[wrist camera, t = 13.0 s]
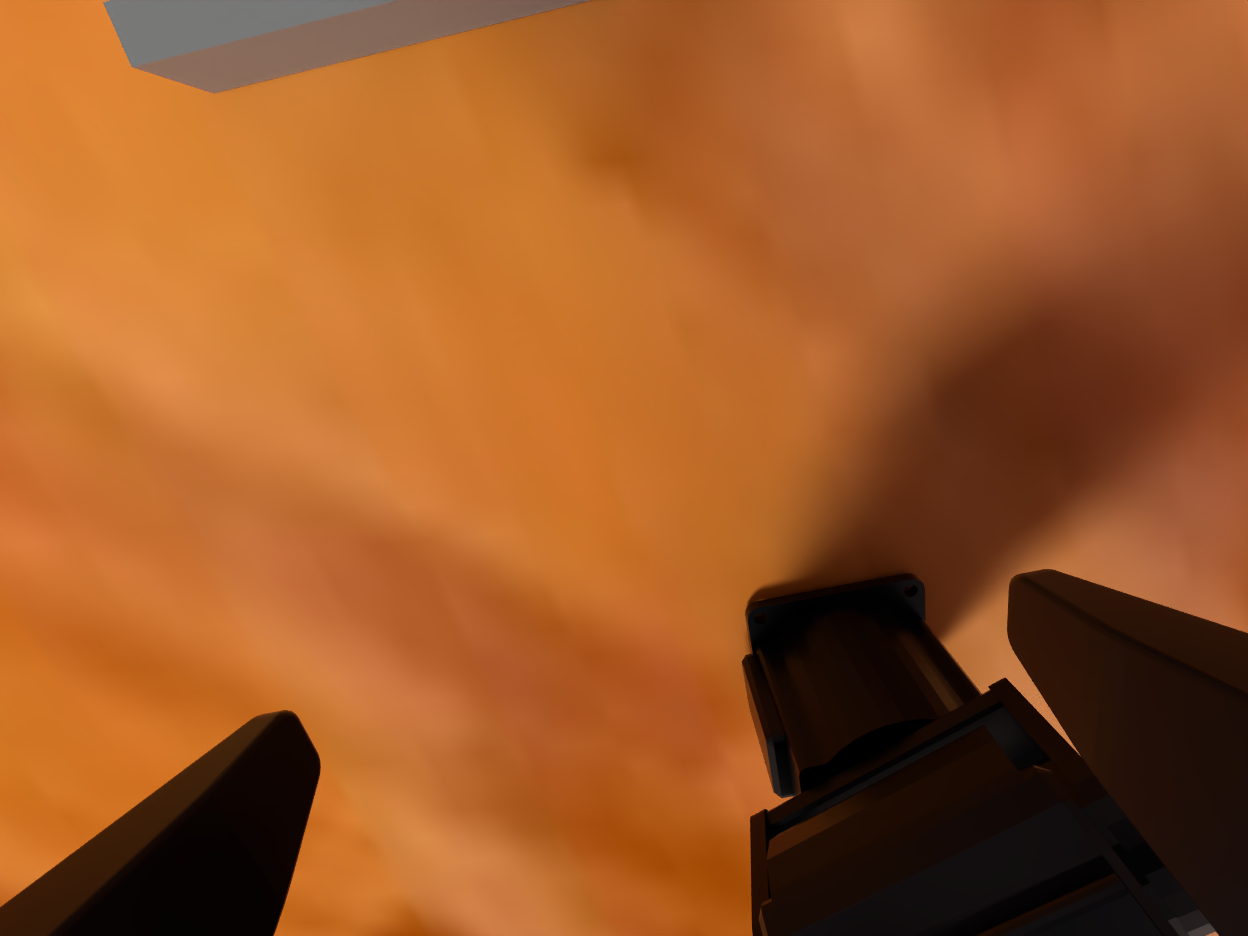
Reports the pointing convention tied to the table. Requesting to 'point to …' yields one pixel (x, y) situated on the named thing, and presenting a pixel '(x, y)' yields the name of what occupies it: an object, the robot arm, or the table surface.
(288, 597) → the table surface
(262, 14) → the corner wall
